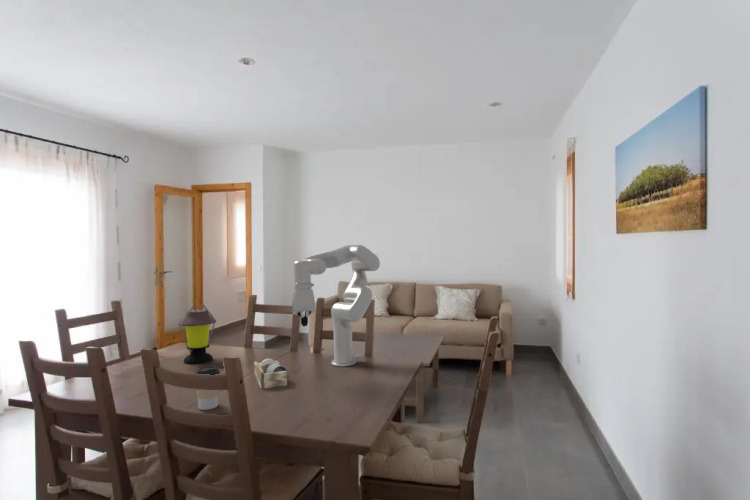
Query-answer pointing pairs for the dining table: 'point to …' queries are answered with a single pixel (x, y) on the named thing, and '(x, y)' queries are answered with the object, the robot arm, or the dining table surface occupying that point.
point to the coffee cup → (207, 391)
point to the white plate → (267, 362)
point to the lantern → (197, 335)
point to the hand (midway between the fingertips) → (304, 325)
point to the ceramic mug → (275, 368)
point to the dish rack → (269, 376)
